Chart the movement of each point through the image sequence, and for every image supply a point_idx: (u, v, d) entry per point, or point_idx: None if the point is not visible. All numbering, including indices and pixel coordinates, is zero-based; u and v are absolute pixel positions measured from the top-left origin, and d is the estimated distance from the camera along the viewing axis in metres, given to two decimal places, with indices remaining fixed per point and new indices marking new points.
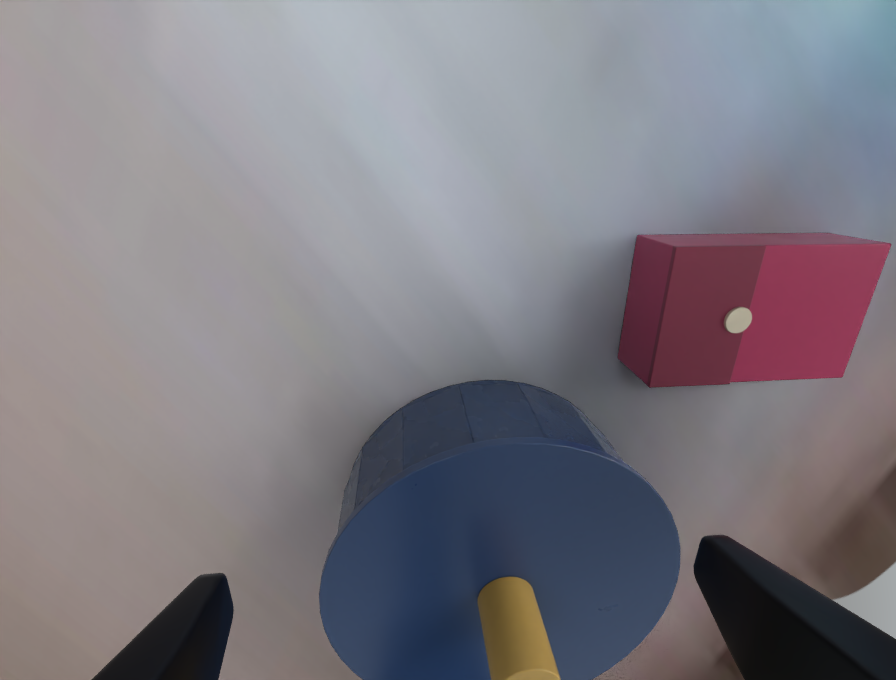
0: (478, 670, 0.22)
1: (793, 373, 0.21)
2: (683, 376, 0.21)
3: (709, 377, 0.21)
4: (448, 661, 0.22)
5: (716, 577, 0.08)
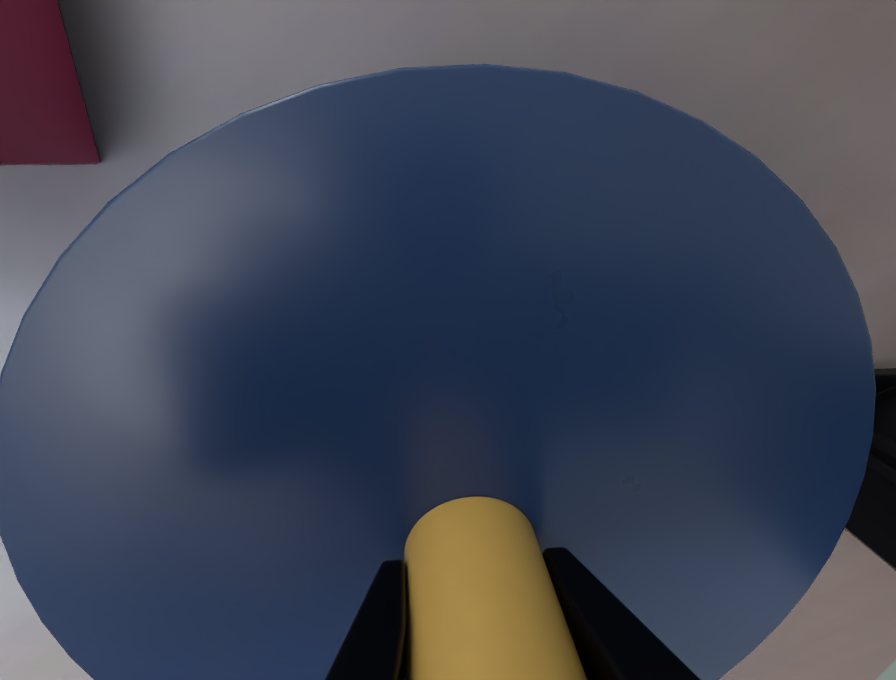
0: (694, 568, 0.10)
1: None
2: None
3: None
4: (643, 619, 0.10)
5: None
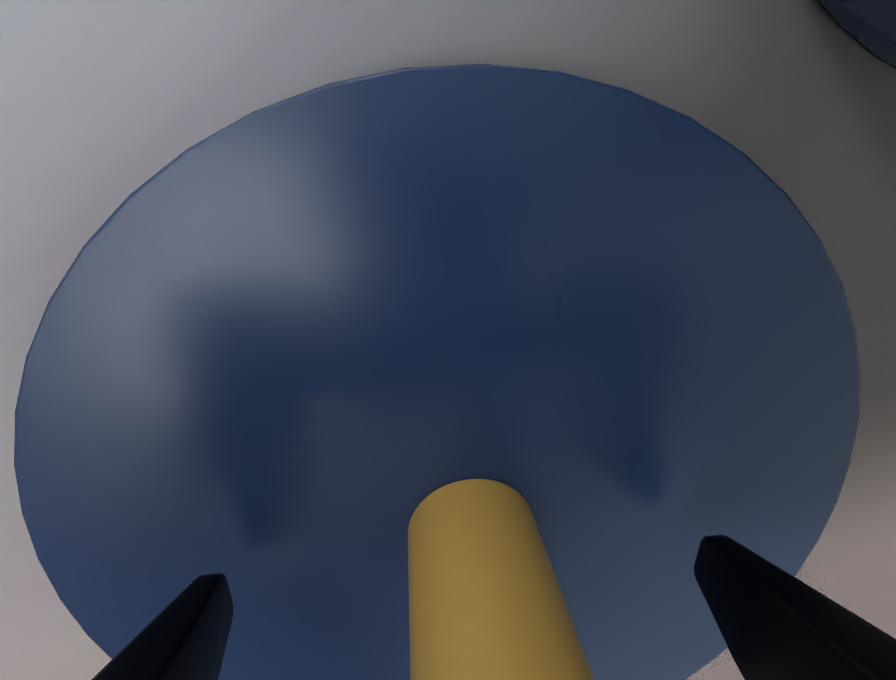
0: (687, 550, 0.10)
1: None
2: None
3: None
4: (638, 601, 0.11)
5: (716, 577, 0.08)
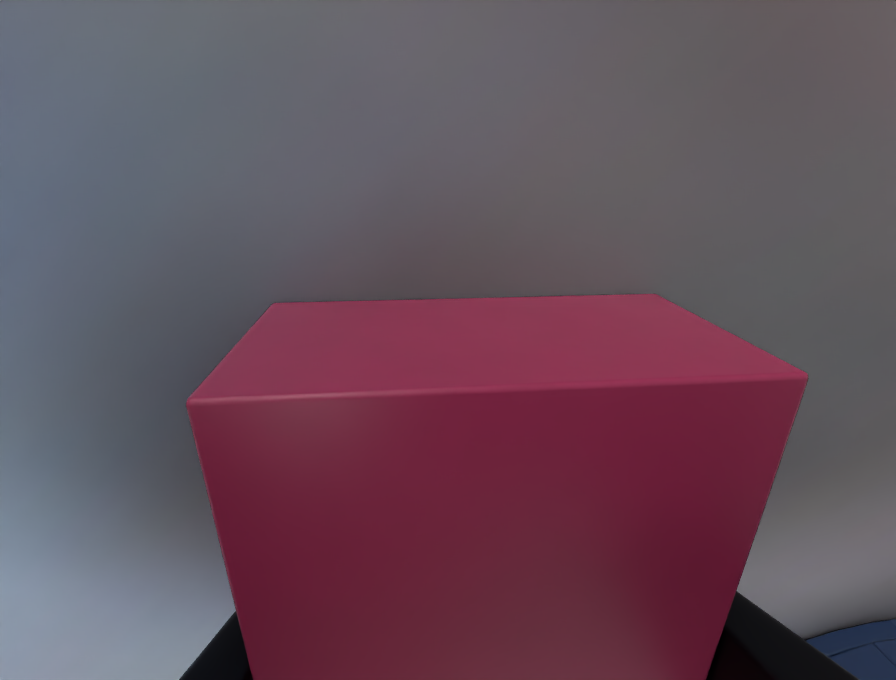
0: None
1: (723, 564, 0.06)
2: None
3: None
4: None
5: None
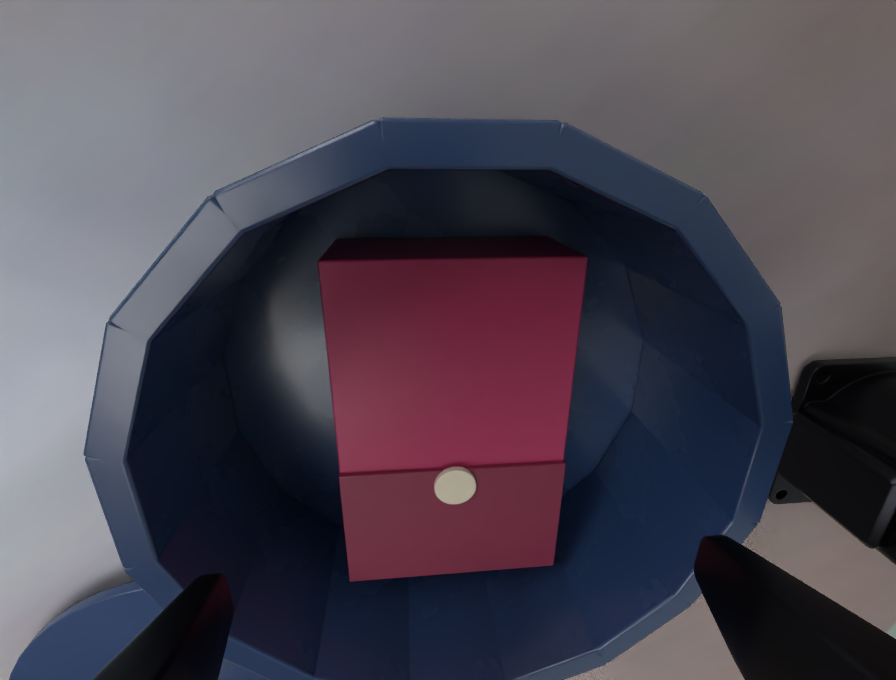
0: None
1: (563, 359, 0.12)
2: (542, 529, 0.14)
3: (550, 488, 0.13)
4: None
5: (716, 577, 0.08)
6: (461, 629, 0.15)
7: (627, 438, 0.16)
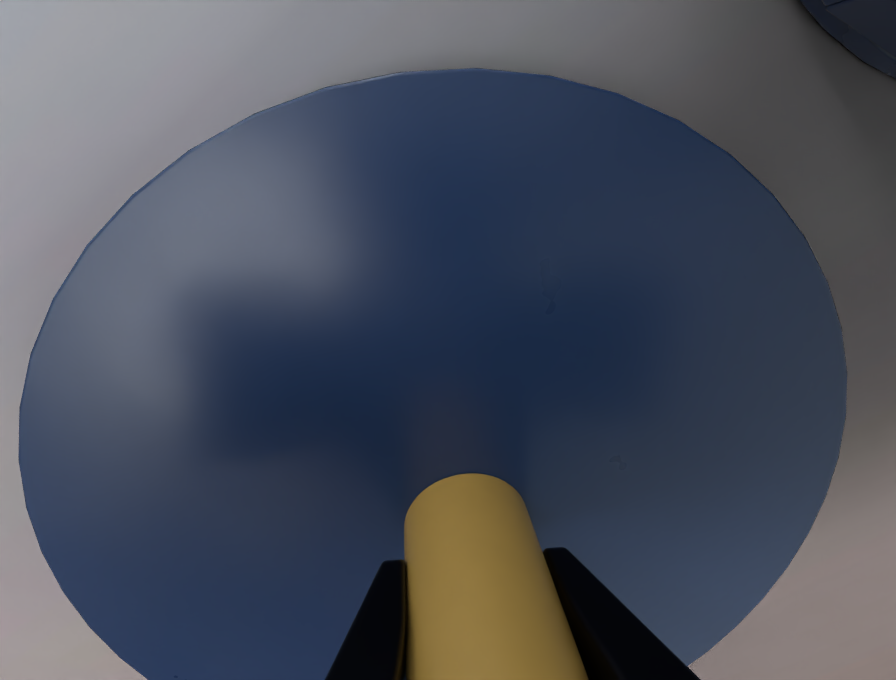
0: (679, 544, 0.10)
1: None
2: None
3: None
4: (631, 594, 0.11)
5: None
6: None
7: None
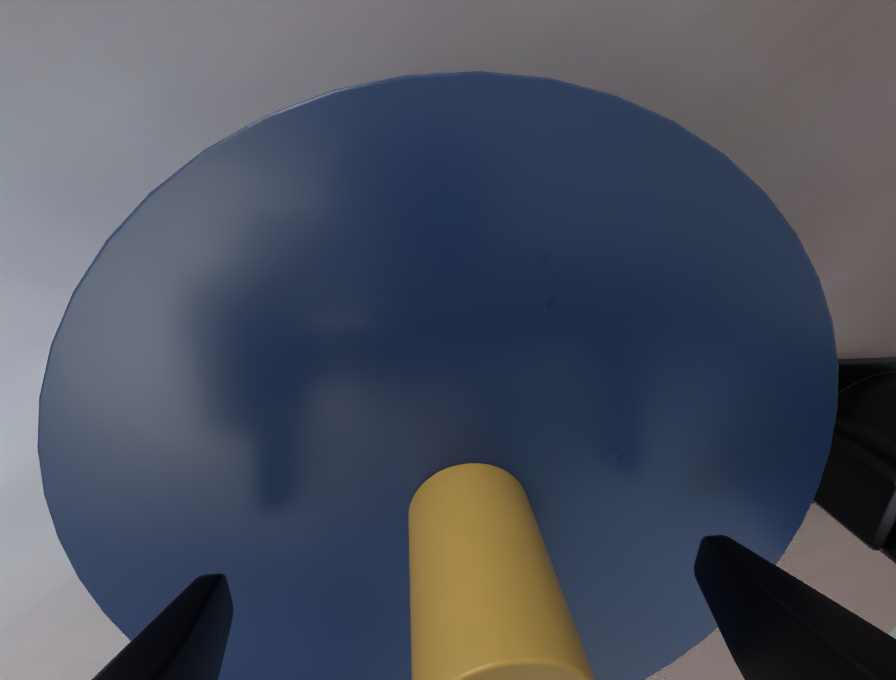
0: (675, 533, 0.11)
1: None
2: None
3: None
4: (629, 582, 0.11)
5: (716, 577, 0.08)
6: None
7: None
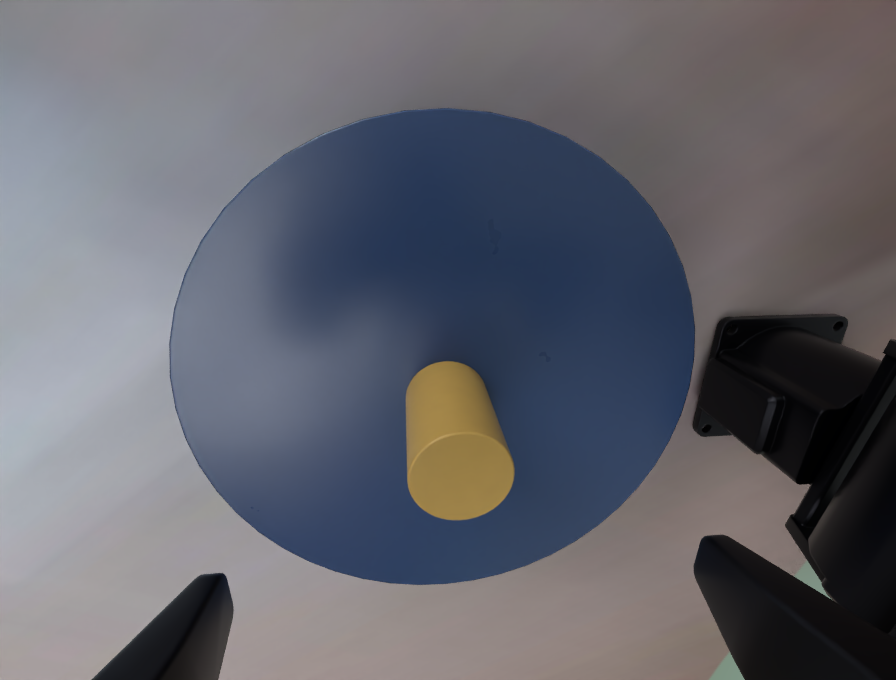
0: (591, 419, 0.15)
1: None
2: None
3: None
4: (561, 457, 0.16)
5: (716, 577, 0.08)
6: None
7: None
